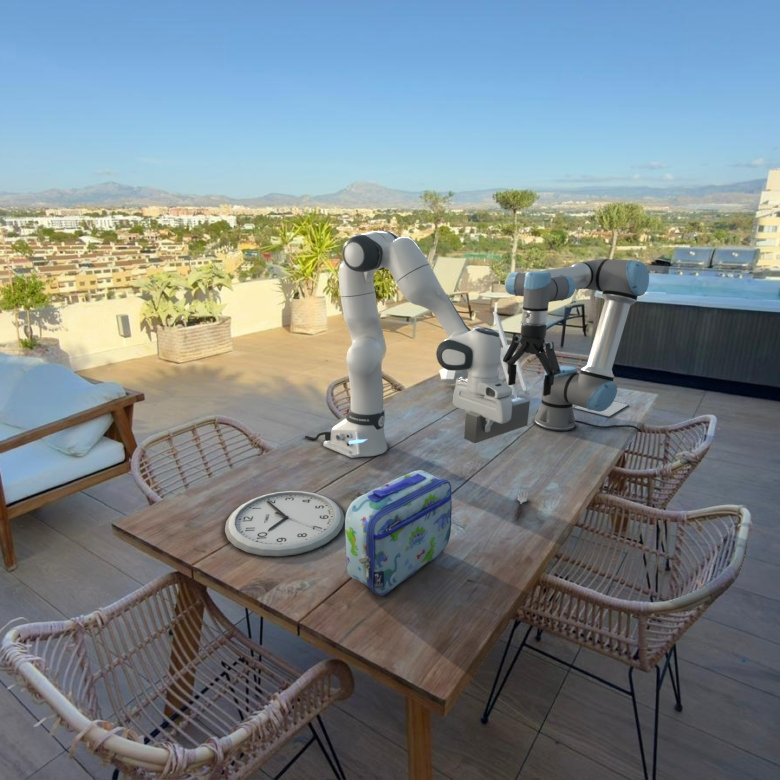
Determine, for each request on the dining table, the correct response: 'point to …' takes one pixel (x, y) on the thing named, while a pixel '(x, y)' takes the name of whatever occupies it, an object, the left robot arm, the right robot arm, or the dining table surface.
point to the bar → (476, 422)
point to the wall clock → (284, 523)
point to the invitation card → (609, 411)
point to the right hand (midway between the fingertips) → (528, 389)
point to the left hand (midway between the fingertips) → (478, 428)
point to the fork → (521, 499)
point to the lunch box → (397, 529)
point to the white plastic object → (452, 376)
